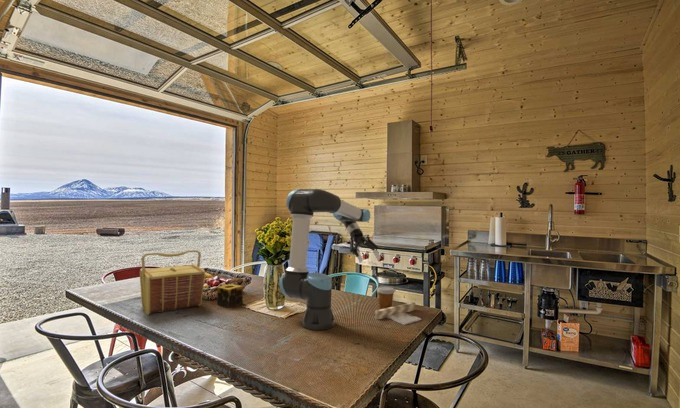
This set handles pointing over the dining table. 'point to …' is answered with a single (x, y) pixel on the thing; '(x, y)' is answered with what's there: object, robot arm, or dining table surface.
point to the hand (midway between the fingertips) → (370, 260)
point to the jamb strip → (394, 310)
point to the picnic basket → (171, 285)
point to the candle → (229, 295)
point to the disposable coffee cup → (385, 296)
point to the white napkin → (404, 318)
